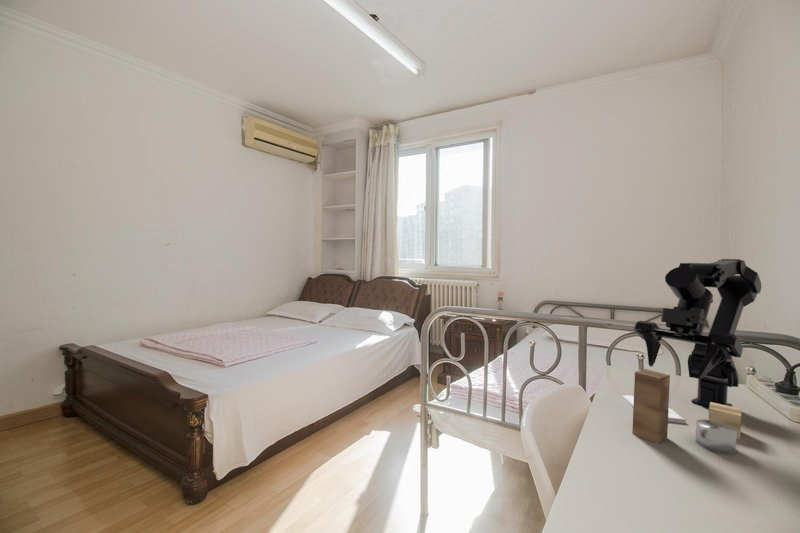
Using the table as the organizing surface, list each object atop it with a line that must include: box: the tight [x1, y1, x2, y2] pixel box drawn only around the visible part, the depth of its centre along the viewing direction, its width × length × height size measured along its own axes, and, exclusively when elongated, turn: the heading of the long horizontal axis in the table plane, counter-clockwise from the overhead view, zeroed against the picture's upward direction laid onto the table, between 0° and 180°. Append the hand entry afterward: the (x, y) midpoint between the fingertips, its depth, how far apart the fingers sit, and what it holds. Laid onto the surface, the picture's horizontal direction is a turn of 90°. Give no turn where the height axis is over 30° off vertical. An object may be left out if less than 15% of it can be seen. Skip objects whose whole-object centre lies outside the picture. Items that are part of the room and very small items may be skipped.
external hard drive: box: [622, 394, 687, 424], centre depth 86 cm, size 2×8×12 cm
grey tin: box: [694, 419, 738, 456], centre depth 70 cm, size 6×6×4 cm
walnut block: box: [631, 368, 671, 444], centre depth 73 cm, size 4×4×13 cm
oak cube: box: [708, 402, 742, 440], centre depth 76 cm, size 5×5×5 cm
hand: (673, 371), depth 78 cm, fingers open, 9 cm apart
